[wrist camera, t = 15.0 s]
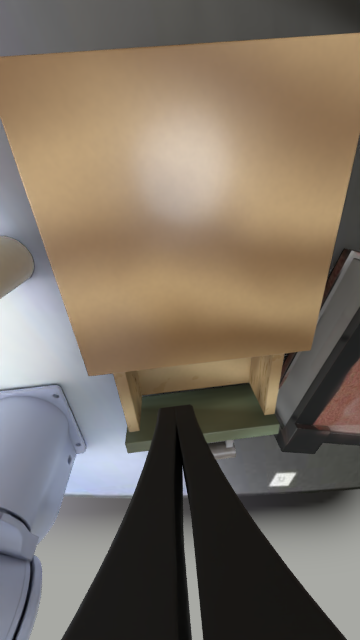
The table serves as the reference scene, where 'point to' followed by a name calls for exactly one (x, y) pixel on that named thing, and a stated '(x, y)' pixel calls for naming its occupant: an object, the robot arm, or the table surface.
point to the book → (325, 371)
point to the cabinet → (187, 190)
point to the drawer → (205, 400)
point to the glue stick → (13, 264)
